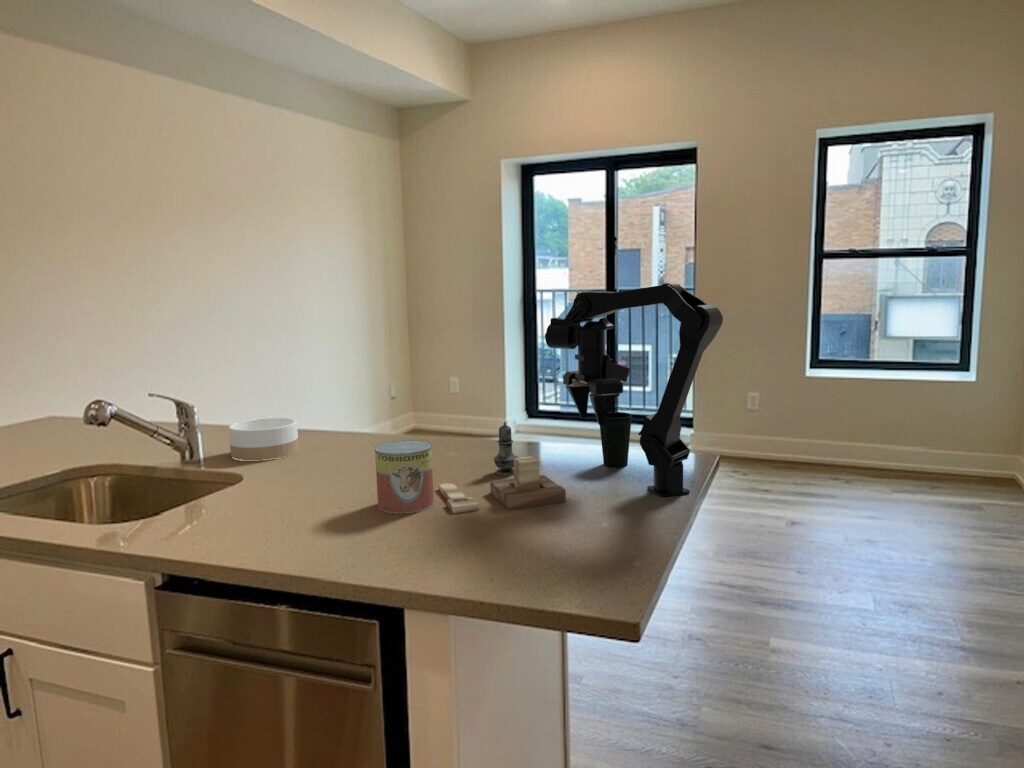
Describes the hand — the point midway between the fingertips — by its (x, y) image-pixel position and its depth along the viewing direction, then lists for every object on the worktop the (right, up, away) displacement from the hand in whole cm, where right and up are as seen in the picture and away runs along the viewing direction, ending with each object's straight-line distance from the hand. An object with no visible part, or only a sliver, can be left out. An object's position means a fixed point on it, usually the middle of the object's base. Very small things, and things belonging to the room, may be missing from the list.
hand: (592, 421), depth 158 cm
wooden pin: (-14, -15, -10) cm, 23 cm away
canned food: (-39, -16, -13) cm, 44 cm away
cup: (+7, -11, +13) cm, 19 cm away
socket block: (-14, -15, -10) cm, 23 cm away
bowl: (-83, -11, +35) cm, 91 cm away
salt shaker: (-19, -13, +9) cm, 25 cm away
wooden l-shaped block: (-29, -16, -10) cm, 35 cm away
